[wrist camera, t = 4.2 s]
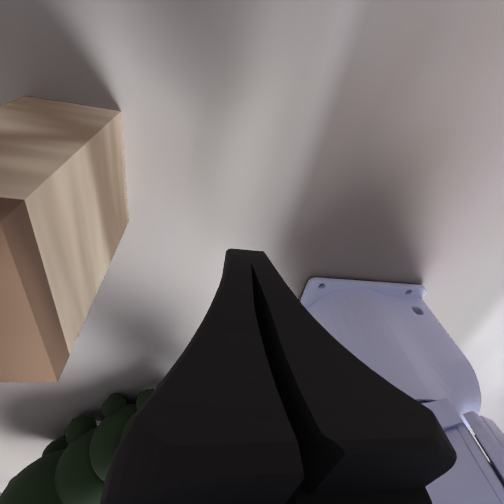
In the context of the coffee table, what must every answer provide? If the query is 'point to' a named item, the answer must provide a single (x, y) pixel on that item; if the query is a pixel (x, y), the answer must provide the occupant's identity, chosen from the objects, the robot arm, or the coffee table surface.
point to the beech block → (55, 227)
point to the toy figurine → (75, 459)
